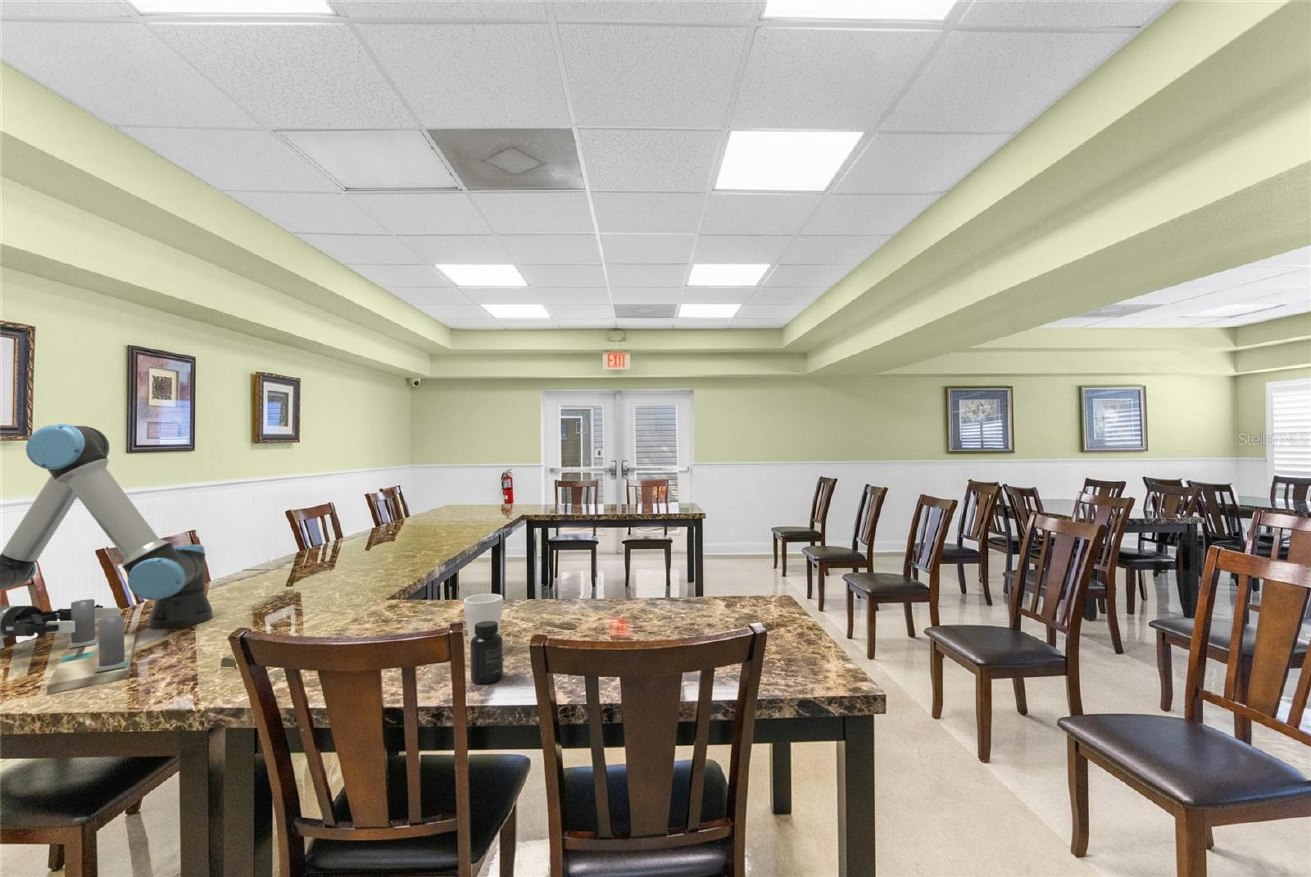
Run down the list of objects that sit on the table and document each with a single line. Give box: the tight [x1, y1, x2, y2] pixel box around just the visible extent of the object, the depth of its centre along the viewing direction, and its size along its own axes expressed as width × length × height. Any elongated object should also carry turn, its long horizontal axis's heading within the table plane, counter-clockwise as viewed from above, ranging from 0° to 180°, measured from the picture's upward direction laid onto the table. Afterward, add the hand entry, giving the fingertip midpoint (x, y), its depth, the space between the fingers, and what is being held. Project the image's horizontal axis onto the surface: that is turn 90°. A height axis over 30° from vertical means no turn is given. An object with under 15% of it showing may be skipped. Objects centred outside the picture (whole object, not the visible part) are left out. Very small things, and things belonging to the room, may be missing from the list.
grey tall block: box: [96, 615, 127, 672], centre depth 137 cm, size 5×5×11 cm
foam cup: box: [462, 593, 504, 644], centre depth 149 cm, size 10×9×13 cm
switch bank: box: [46, 633, 137, 695], centre depth 146 cm, size 13×36×2 cm, turn 39°
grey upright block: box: [68, 598, 98, 648], centre depth 155 cm, size 5×5×11 cm
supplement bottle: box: [469, 621, 504, 686], centre depth 131 cm, size 7×7×12 cm
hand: (97, 619), depth 155 cm, fingers open, 12 cm apart
